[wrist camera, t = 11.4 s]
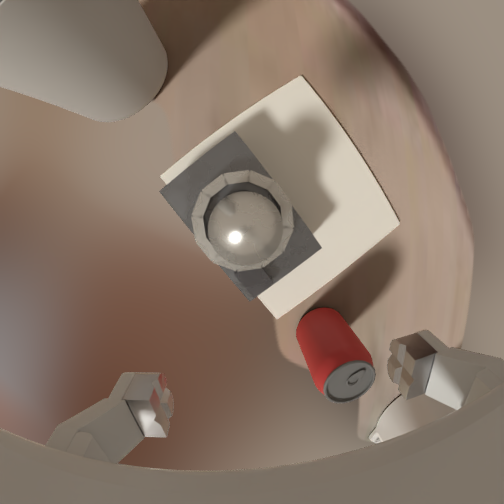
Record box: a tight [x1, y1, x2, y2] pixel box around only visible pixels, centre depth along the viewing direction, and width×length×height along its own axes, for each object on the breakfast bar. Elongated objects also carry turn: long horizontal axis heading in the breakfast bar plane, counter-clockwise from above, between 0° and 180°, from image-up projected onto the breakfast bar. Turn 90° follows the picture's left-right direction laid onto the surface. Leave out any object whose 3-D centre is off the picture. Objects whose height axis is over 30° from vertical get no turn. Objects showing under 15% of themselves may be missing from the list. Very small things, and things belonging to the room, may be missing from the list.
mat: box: [160, 76, 400, 319], centre depth 31 cm, size 22×20×1 cm
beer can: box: [296, 307, 376, 403], centre depth 30 cm, size 7×7×12 cm
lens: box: [208, 190, 283, 266], centre depth 23 cm, size 5×5×7 cm
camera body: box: [160, 131, 322, 301], centre depth 28 cm, size 14×9×7 cm, turn 37°
